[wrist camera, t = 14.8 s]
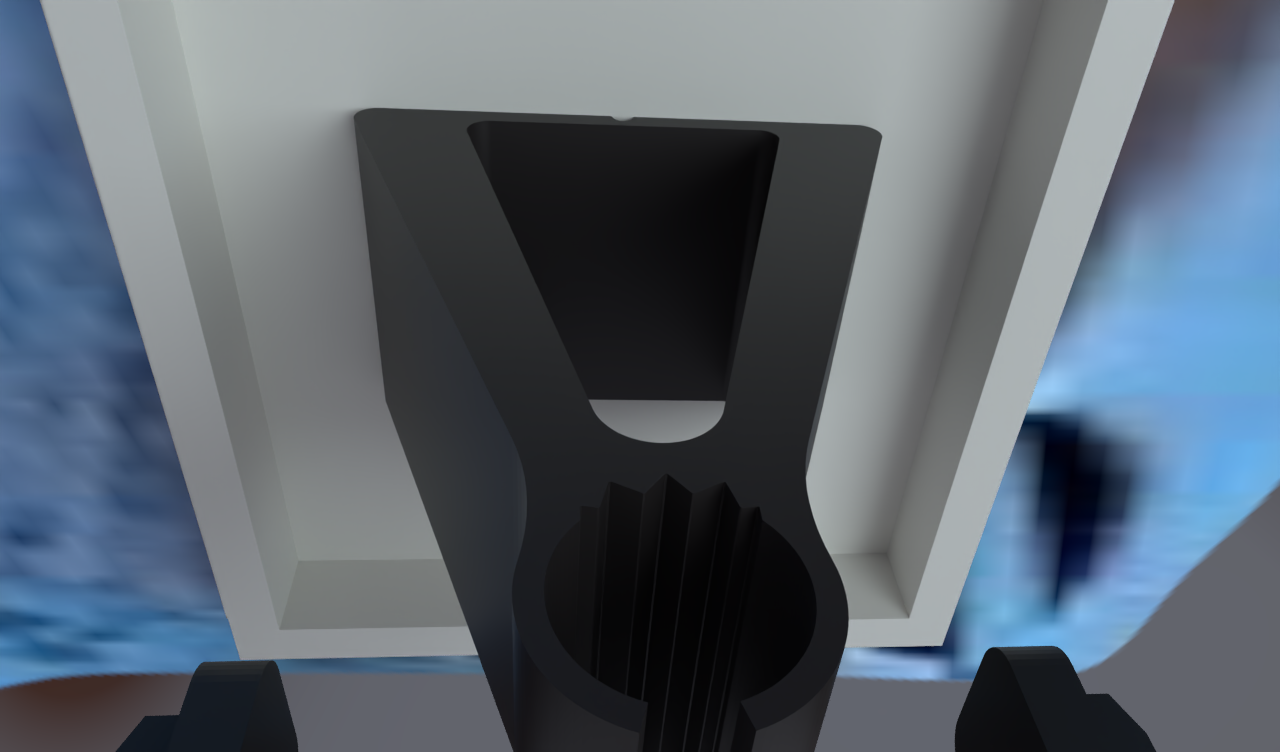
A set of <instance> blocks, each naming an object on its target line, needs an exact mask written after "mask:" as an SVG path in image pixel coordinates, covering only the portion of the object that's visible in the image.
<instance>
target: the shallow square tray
mask: <svg viewBox="0 0 1280 752" xmlns="http://www.w3.org/2000/svg"><path fill="white" fill-rule="evenodd" d="M40 2H41V6H42V9H43V12H44V16H45V19H46V22H47V26H48V29H49V32H50V36H51V39H52V42H53V45H54V49H55V52H56V55H57V59H58V62H59V65H60V69H61V72H62V75H63V79H64V82H65V85H66V88H67V92H68V95H69V98H70V102H71V105H72V108H73V112H74V115H75V118H76V122H77V125H78V128H79V131H80V135H81V138H82V141H83V145H84V148H85V151H86V155H87V158H88V161H89V165H90V168H91V171H92V174H93V178H94V181H95V184H96V188H97V191H98V194H99V198H100V201H101V204H102V208H103V211H104V214H105V217H106V221H107V224H108V227H109V231H110V234H111V237H112V241H113V244H114V247H115V250H116V254H117V257H118V260H119V264H120V267H121V270H122V274H123V277H124V280H125V284H126V287H127V290H128V293H129V297H130V300H131V303H132V307H133V310H134V313H135V317H136V320H137V323H138V327H139V330H140V333H141V336H142V340H143V343H144V346H145V350H146V353H147V356H148V360H149V363H150V366H151V370H152V373H153V376H154V379H155V383H156V386H157V389H158V393H159V396H160V399H161V403H162V406H163V409H164V413H165V416H166V419H167V422H168V426H169V429H170V432H171V436H172V439H173V442H174V446H175V449H176V452H177V456H178V459H179V462H180V465H181V469H182V472H183V475H184V479H185V482H186V485H187V489H188V492H189V495H190V499H191V502H192V505H193V508H194V512H195V515H196V518H197V522H198V525H199V528H200V532H201V535H202V538H203V542H204V545H205V548H206V551H207V555H208V558H209V561H210V565H211V568H212V571H213V575H214V578H215V581H216V585H217V588H218V591H219V594H220V598H221V601H222V604H223V608H224V611H225V614H226V618H228V620H229V623H230V627H231V630H232V633H233V637H234V640H235V643H236V647H237V650H238V653H239V656H240V660H257V659H306V658H355V657H404V656H453V655H478V653H477V650H476V647H475V645H474V642H473V639H472V636H471V634H470V631H469V628H468V625H467V623H466V620H465V617H464V615H463V612H462V609H461V606H460V604H459V601H458V598H457V595H456V593H455V590H454V587H453V584H452V582H451V579H450V576H449V573H448V571H447V568H446V565H445V562H444V560H443V557H442V554H441V551H440V549H439V546H438V543H437V540H436V538H435V535H434V532H433V530H432V527H431V524H430V521H429V519H428V516H427V513H426V510H425V508H424V505H423V502H422V499H421V497H420V494H419V491H418V488H417V486H416V483H415V480H414V477H413V475H412V472H411V469H410V466H409V464H408V461H407V458H406V456H405V453H404V450H403V447H402V445H401V442H400V439H399V436H398V434H397V431H396V428H395V425H394V423H393V420H392V417H391V414H390V412H389V409H388V406H387V403H386V400H385V392H384V383H383V374H382V365H381V356H380V347H379V339H378V330H377V321H376V312H375V303H374V294H373V285H372V276H371V268H370V259H369V250H368V241H367V232H366V223H365V214H364V206H363V197H362V188H361V179H360V170H359V161H358V152H357V144H356V135H355V126H354V115H355V114H356V113H357V112H359V111H361V110H364V109H369V108H399V109H427V110H455V111H483V112H511V113H539V114H567V115H595V116H612V117H613V118H614V119H616V120H619V121H629V120H631V119H633V117H651V118H679V119H707V120H735V121H763V122H791V123H819V124H847V125H862V126H867V127H870V128H873V129H875V130H877V131H879V132H880V133H881V134H882V141H881V145H880V150H879V154H878V159H877V163H876V168H875V172H874V177H873V181H872V186H871V190H870V195H869V199H868V204H867V208H866V213H865V218H864V222H863V227H862V231H861V236H860V240H859V245H858V249H857V254H856V258H855V263H854V267H853V272H852V276H851V281H850V285H849V290H848V294H847V299H846V303H845V308H844V313H843V317H842V322H841V326H840V331H839V335H838V340H837V344H836V349H835V353H834V358H833V362H832V367H831V371H830V376H829V380H828V385H827V389H826V394H825V398H824V403H823V407H822V412H821V416H820V420H819V424H818V429H817V433H816V437H815V441H814V446H813V450H812V454H811V459H810V463H809V467H808V471H807V476H806V485H807V492H808V498H809V503H810V506H811V510H812V514H813V517H814V520H815V523H816V526H817V528H818V531H819V533H820V536H821V538H822V540H823V542H824V545H825V547H826V549H827V550H828V552H829V554H830V556H831V558H832V560H833V562H834V564H835V566H836V567H837V570H838V572H839V574H840V576H841V579H842V582H843V585H844V588H845V592H846V597H847V602H848V611H849V626H848V635H847V640H846V644H845V648H847V647H896V646H942V644H943V641H944V638H945V636H946V633H947V630H948V627H949V625H950V622H951V619H952V616H953V613H954V611H955V608H956V605H957V602H958V600H959V597H960V594H961V591H962V588H963V586H964V583H965V580H966V577H967V575H968V572H969V569H970V566H971V564H972V561H973V558H974V555H975V552H976V550H977V547H978V544H979V541H980V539H981V536H982V533H983V530H984V527H985V525H986V522H987V519H988V516H989V514H990V511H991V508H992V505H993V502H994V500H995V497H996V494H997V491H998V489H999V486H1000V483H1001V480H1002V478H1003V475H1004V472H1005V469H1006V466H1007V464H1008V461H1009V458H1010V455H1011V453H1012V450H1013V447H1014V444H1015V441H1016V439H1017V436H1018V433H1019V430H1020V428H1021V425H1022V422H1023V419H1024V417H1025V414H1026V411H1027V408H1028V405H1029V403H1030V400H1031V397H1032V394H1033V392H1034V389H1035V386H1036V383H1037V380H1038V378H1039V375H1040V372H1041V369H1042V367H1043V364H1044V361H1045V358H1046V355H1047V353H1048V350H1049V347H1050V344H1051V342H1052V339H1053V336H1054V333H1055V331H1056V328H1057V325H1058V322H1059V319H1060V317H1061V314H1062V311H1063V308H1064V306H1065V303H1066V300H1067V297H1068V294H1069V292H1070V289H1071V286H1072V283H1073V281H1074V278H1075V275H1076V272H1077V270H1078V267H1079V264H1080V261H1081V258H1082V256H1083V253H1084V250H1085V247H1086V245H1087V242H1088V239H1089V236H1090V233H1091V231H1092V228H1093V225H1094V222H1095V220H1096V217H1097V214H1098V211H1099V208H1100V206H1101V203H1102V200H1103V197H1104V195H1105V192H1106V189H1107V186H1108V184H1109V181H1110V178H1111V175H1112V172H1113V170H1114V167H1115V164H1116V161H1117V159H1118V156H1119V153H1120V150H1121V147H1122V145H1123V142H1124V139H1125V136H1126V134H1127V131H1128V128H1129V125H1130V122H1131V120H1132V117H1133V114H1134V111H1135V109H1136V106H1137V103H1138V100H1139V98H1140V95H1141V92H1142V89H1143V86H1144V84H1145V81H1146V78H1147V75H1148V73H1149V70H1150V67H1151V64H1152V61H1153V59H1154V56H1155V53H1156V50H1157V48H1158V45H1159V42H1160V39H1161V37H1162V34H1163V31H1164V28H1165V25H1166V23H1167V20H1168V17H1169V14H1170V12H1171V9H1172V6H1173V3H1174V0H40ZM589 402H590V404H591V406H592V408H593V410H594V412H595V414H596V415H597V416H598V418H599V419H600V420H601V421H602V422H603V423H604V424H606V425H607V426H608V427H610V428H611V429H613V430H614V431H616V432H618V433H620V434H622V435H625V436H627V437H630V438H633V439H637V440H641V441H646V442H654V443H672V442H680V441H685V440H689V439H692V438H695V437H698V436H700V435H702V434H704V433H706V432H707V431H709V430H710V429H711V428H713V427H714V426H715V425H716V424H717V423H718V421H719V420H720V418H721V416H722V414H723V411H724V407H725V401H669V400H589Z"/></svg>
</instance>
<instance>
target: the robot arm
mask: <svg viewBox="0 0 1280 752" xmlns="http://www.w3.org/2000/svg"><path fill="white" fill-rule="evenodd" d="M116 752H298V743H297V737H296V733H295V729H294V725H293V721H292V717H291V714H290V710H289V706H288V702H287V699H286V695H285V692H284V688H283V684H282V680H281V676H280V673H279V669H278V666H277V664H276V663H275V662H274V661H225V662H203V663H201V664H200V665H199V666H198V668H197V669H196V671H195V673H194V675H193V677H192V680H191V682H190V685H189V688H188V691H187V694H186V697H185V700H184V702H183V705H182V708H181V711H180V714H179V715H172V716H171V715H168V716H145V717H144V718H143V719H142V721H141V722H140V723H139V724H138V726H137V727H136V728H135V729H134V730H133V731H132V733H131V734H130V735H129V736H128V737H127V739H126V740H125V741H124V742H123V743H122V745H121V746H120V747H119V748H118V749H117V751H116ZM955 752H1156V750H1155V749H1154V747H1153V745H1152V743H1151V741H1150V739H1149V737H1148V735H1147V734H1146V732H1145V731H1144V730H1143V729H1142V728H1141V727H1140V726H1139V725H1138V724H1137V723H1136V722H1135V721H1134V720H1133V719H1132V718H1131V717H1130V716H1129V715H1128V714H1127V713H1126V712H1125V711H1124V710H1123V709H1122V708H1121V707H1120V705H1119V704H1118V703H1117V702H1116V701H1115V700H1114V699H1113V698H1112V697H1111V696H1110V695H1109V694H1086V693H1085V690H1084V688H1083V686H1082V684H1081V682H1080V680H1079V678H1078V676H1077V674H1076V672H1075V670H1074V668H1073V665H1072V664H1071V662H1070V660H1069V658H1068V657H1067V655H1066V654H1065V653H1064V652H1063V651H1062V650H1061V649H1060V648H1058V647H1055V646H1028V647H992V648H990V649H988V650H987V651H986V653H985V655H984V657H983V659H982V662H981V664H980V666H979V669H978V671H977V674H976V676H975V679H974V681H973V684H972V686H971V688H970V691H969V693H968V696H967V698H966V701H965V703H964V706H963V708H962V711H961V713H960V715H959V718H958V721H957V724H956V730H955Z"/></svg>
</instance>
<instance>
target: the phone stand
mask: <svg viewBox="0 0 1280 752" xmlns="http://www.w3.org/2000/svg"><path fill="white" fill-rule="evenodd" d="M354 126H355V135H356V144H357V152H358V161H359V170H360V179H361V188H362V197H363V206H364V214H365V223H366V232H367V241H368V250H369V259H370V268H371V276H372V285H373V294H374V303H375V312H376V321H377V330H378V339H379V347H380V356H381V365H382V374H383V383H384V392H385V400H386V403H387V406H388V409H389V412H390V414H391V417H392V420H393V423H394V425H395V428H396V431H397V434H398V436H399V439H400V442H401V445H402V447H403V450H404V453H405V456H406V458H407V461H408V464H409V466H410V469H411V472H412V475H413V477H414V480H415V483H416V486H417V488H418V491H419V494H420V497H421V499H422V502H423V505H424V508H425V510H426V513H427V516H428V519H429V521H430V524H431V527H432V530H433V532H434V535H435V538H436V540H437V543H438V546H439V549H440V551H441V554H442V557H443V560H444V562H445V565H446V568H447V571H448V573H449V576H450V579H451V582H452V584H453V587H454V590H455V593H456V595H457V598H458V601H459V604H460V606H461V609H462V612H463V615H464V617H465V620H466V623H467V625H468V628H469V631H470V634H471V636H472V639H473V642H474V645H475V647H476V650H477V653H478V656H479V658H480V661H481V664H482V667H483V669H484V672H485V675H486V678H487V680H488V683H489V686H490V688H491V691H492V694H493V697H494V699H495V702H496V705H497V708H498V710H499V713H500V716H501V719H502V721H503V724H504V727H505V730H506V732H507V735H508V738H509V741H510V743H511V746H512V749H513V752H814V750H815V747H816V744H817V740H818V737H819V734H820V730H821V727H822V723H823V720H824V716H825V713H826V709H827V706H828V703H829V699H830V696H831V692H832V689H833V685H834V682H835V679H836V675H837V672H838V668H839V665H840V662H841V658H842V655H843V651H844V648H845V644H846V640H847V635H848V626H849V611H848V602H847V597H846V592H845V588H844V585H843V582H842V579H841V576H840V574H839V572H838V570H837V567H836V566H835V564H834V562H833V560H832V558H831V556H830V554H829V552H828V550H827V549H826V547H825V545H824V542H823V540H822V538H821V536H820V533H819V531H818V528H817V526H816V523H815V520H814V517H813V514H812V510H811V506H810V503H809V498H808V492H807V485H806V476H807V471H808V467H809V463H810V459H811V454H812V450H813V446H814V441H815V437H816V433H817V429H818V424H819V420H820V416H821V412H822V407H823V403H824V398H825V394H826V389H827V385H828V380H829V376H830V371H831V367H832V362H833V358H834V353H835V349H836V344H837V340H838V335H839V331H840V326H841V322H842V317H843V313H844V308H845V303H846V299H847V294H848V290H849V285H850V281H851V276H852V272H853V267H854V263H855V258H856V254H857V249H858V245H859V240H860V236H861V231H862V227H863V222H864V218H865V213H866V208H867V204H868V199H869V195H870V190H871V186H872V181H873V177H874V172H875V168H876V163H877V159H878V154H879V150H880V145H881V141H882V134H881V133H880V132H879V131H877V130H875V129H873V128H870V127H867V126H862V125H847V124H819V123H791V122H763V121H735V120H707V119H679V118H651V117H633V119H631V120H629V121H619V120H616V119H614V118H613V117H612V116H595V115H567V114H539V113H511V112H483V111H455V110H427V109H399V108H369V109H364V110H361V111H359V112H357V113H356V114H355V115H354ZM589 400H669V401H725V407H724V411H723V414H722V416H721V418H720V420H719V421H718V423H717V424H716V425H715V426H714V427H713V428H711V429H710V430H709V431H707V432H706V433H704V434H702V435H700V436H698V437H695V438H692V439H689V440H685V441H680V442H672V443H654V442H646V441H641V440H637V439H633V438H630V437H627V436H625V435H622V434H620V433H618V432H616V431H614V430H613V429H611V428H610V427H608V426H607V425H606V424H604V423H603V422H602V421H601V420H600V419H599V418H598V416H597V415H596V414H595V412H594V410H593V408H592V406H591V404H590V402H589Z"/></svg>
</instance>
